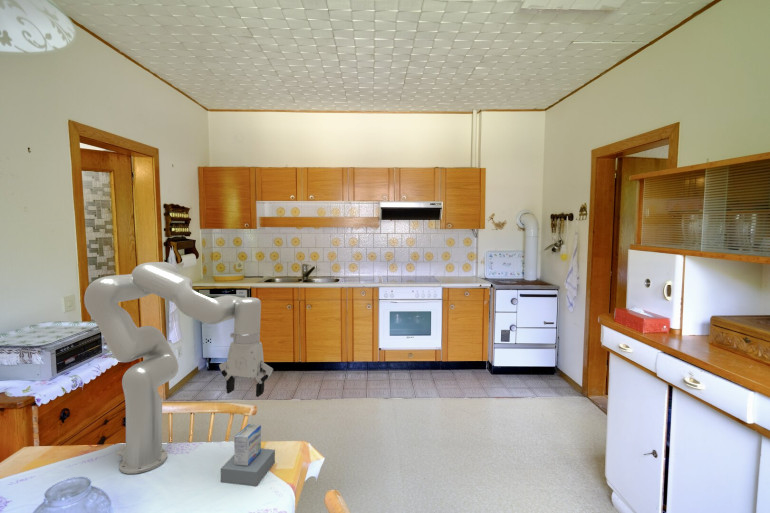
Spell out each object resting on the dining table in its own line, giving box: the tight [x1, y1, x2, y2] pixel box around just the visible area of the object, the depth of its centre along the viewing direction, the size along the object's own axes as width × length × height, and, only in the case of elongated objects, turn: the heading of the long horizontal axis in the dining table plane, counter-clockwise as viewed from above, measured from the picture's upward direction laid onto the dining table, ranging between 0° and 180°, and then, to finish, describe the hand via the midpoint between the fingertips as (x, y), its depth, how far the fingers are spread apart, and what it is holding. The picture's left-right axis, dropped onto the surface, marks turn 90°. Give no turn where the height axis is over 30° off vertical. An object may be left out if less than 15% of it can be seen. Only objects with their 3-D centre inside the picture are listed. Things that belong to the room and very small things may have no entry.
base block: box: [220, 447, 276, 487], centre depth 111 cm, size 11×12×4 cm
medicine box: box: [233, 423, 262, 466], centre depth 111 cm, size 8×4×9 cm, turn 170°
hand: (244, 393), depth 113 cm, fingers open, 9 cm apart
